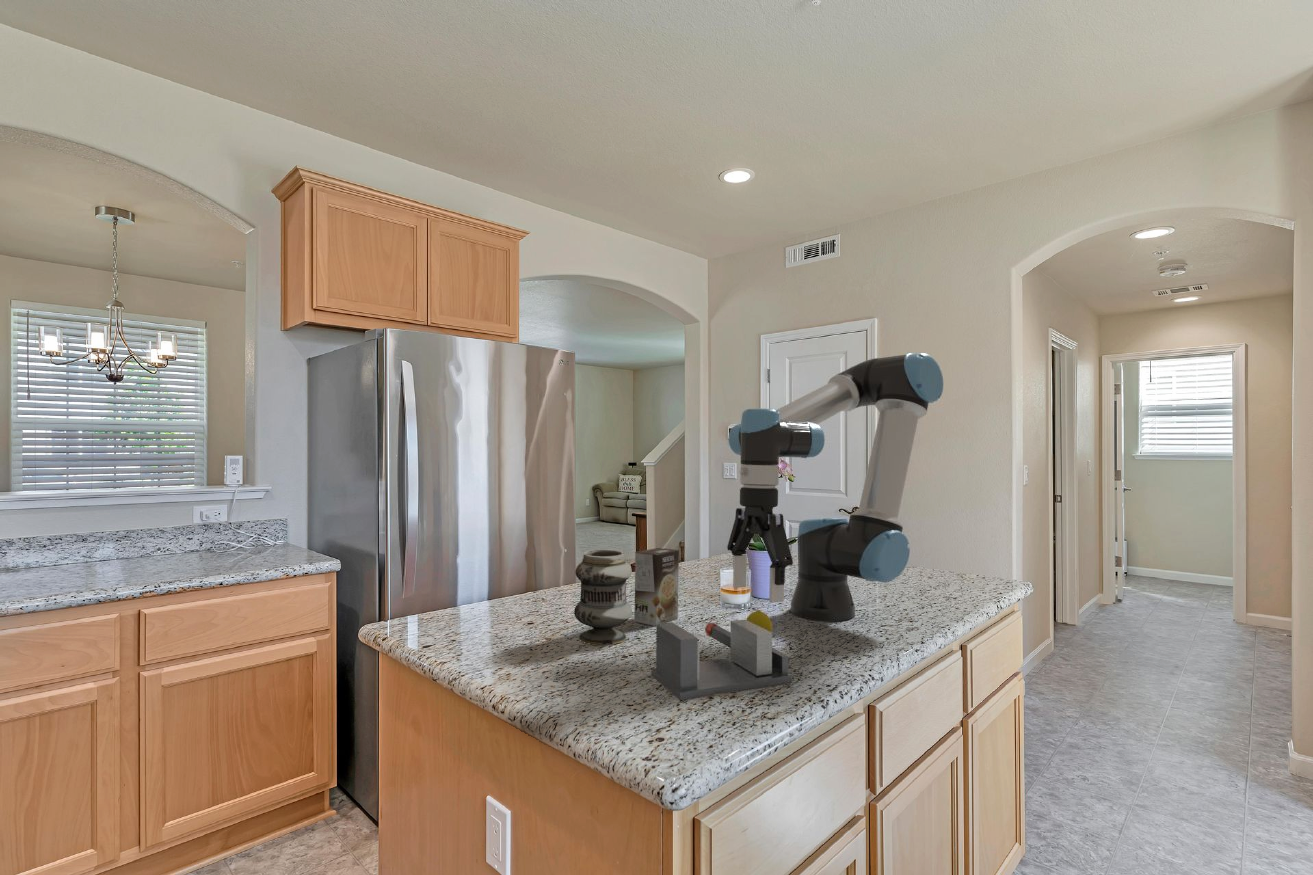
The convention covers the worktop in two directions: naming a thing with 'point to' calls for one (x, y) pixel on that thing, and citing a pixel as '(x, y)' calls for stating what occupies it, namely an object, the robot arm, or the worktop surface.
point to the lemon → (760, 620)
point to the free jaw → (746, 645)
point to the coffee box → (656, 586)
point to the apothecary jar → (603, 596)
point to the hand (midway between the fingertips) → (757, 594)
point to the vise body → (705, 667)
